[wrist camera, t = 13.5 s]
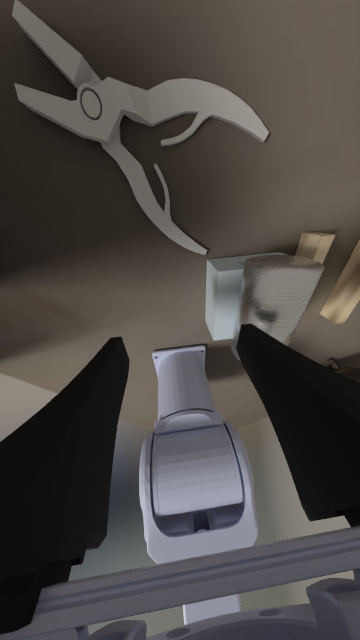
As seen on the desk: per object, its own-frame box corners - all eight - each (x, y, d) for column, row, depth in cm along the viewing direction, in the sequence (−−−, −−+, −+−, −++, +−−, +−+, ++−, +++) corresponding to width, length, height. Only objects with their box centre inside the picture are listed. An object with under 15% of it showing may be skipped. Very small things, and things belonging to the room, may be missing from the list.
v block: (262, 313, 22) (280, 332, 18) (205, 320, 21) (213, 340, 18) (279, 251, 17) (307, 262, 14) (206, 259, 17) (218, 271, 13)
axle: (265, 331, 19) (294, 365, 15) (224, 337, 19) (243, 373, 15) (290, 252, 14) (346, 270, 10) (234, 258, 13) (267, 279, 9)
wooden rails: (327, 312, 23) (344, 323, 21) (273, 319, 23) (284, 330, 21) (377, 225, 17) (407, 227, 15) (302, 232, 16) (322, 235, 14)
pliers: (205, 259, 16) (18, 166, 11) (202, 255, 17) (33, 171, 12) (278, 122, 11) (1, -157, 6) (266, 132, 12) (30, -92, 7)
